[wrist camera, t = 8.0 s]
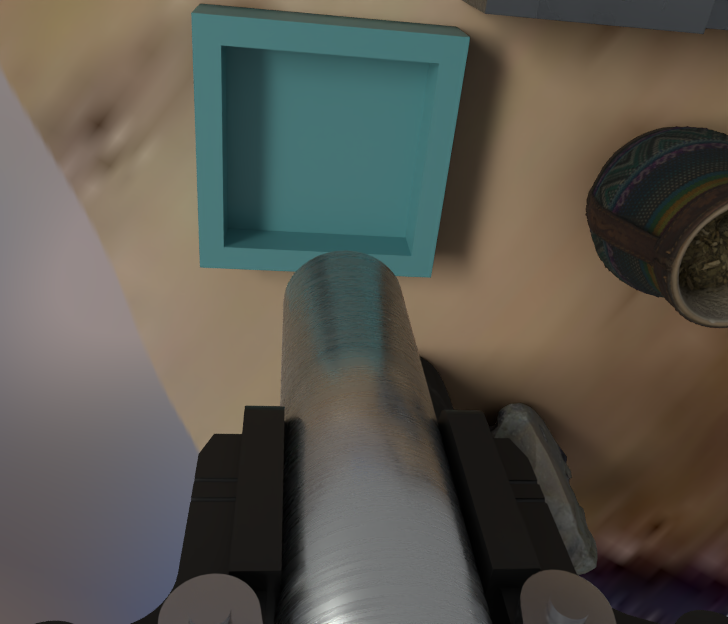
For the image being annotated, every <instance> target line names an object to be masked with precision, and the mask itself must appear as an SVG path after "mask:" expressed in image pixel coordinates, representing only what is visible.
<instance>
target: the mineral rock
mask: <svg viewBox="0 0 728 624" xmlns="http://www.w3.org/2000/svg"><path fill="white" fill-rule="evenodd" d="M489 428H490V431H491V434H492V437H493V438H510V439H511V440H512V441H513V443H514V444H515V445H516V446H517V447H518V448H519V449H520V450H521V451H522V452H523V453H524V454H525V455H526V456H527V457H528V459H529V461H530V463H531V466H532V468H533V471H534V473H535V475H536V478H537V484H539V485H540V487H541V490H542V492H543V494H544V497H545V503H547V504H548V506H549V509H550V511H551V514H552V516H553V518H554V521H555V523H556V525H557V528H558V530H559V533H560V535H561V537H562V540H563V542H564V545H565V547H566V549H567V552H568V554H569V557H570V559H571V561H572V564H573V566H574V568H575V571H576V573H577V575H580V574H585V573H587V572H588V571H590V570H592V569H594V568H595V567H596V563H597V548H596V543H595V540H594V538H593V536H592V534H591V533H590V531H589V530H588V528H587V524H586V520H585V513H584V510H583V508H582V507H581V506H579V504H578V502H577V499H576V496H575V494H574V492H573V490H572V488H571V486H570V484H569V480H570V478H572V475H571V471H570V469H569V468H568V466H567V464H566V460H567V456H566V455H565V454H564V452H563V451H562V450H561V448H560V447H559V446H558V444H557V443H556V441H555V440H554V438H553V437H552V435H551V433H550V431H549V430H548V428H547V426H546V425H545V423H544V421H543V420H542V419H541V418H540V416H539V415H538V414H537V413H536V412H535V411H534V410H533V409H532V408H531V407H529V406H527V405H525V404H522V403H516V404H509V405H507V406H505V407H504V408H502V409H501V410H500V411H499V412H498V416H497V422H496V424H495V425H494V426H490V427H489Z"/></svg>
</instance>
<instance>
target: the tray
mask: <svg viewBox="0 0 728 624" xmlns="http://www.w3.org/2000/svg"><path fill="white" fill-rule="evenodd" d="M191 15H192V44H193V74H194V103H195V133H196V162H197V192H198V221H199V251H200V267H203V268H226V269H249V270H272V271H295V272H296V271H297V270H298V269H299V268H300V267H301V266H302V265H304V264H305V263H307V262H308V261H309V260H311V259H313V258H315V257H317V256H319V255H322V254H325V253H329V252H334V251H357V252H361V253H365V254H368V255H370V256H373V257H375V258H376V259H378V260H380V261H381V262H383V263H384V264H385V265H386V266H387V267H388V268H390V270H391V271H392V272H393V273H394V275H395V276H408V277H431V273H432V267H433V261H434V255H435V249H436V243H437V236H438V230H439V224H440V218H441V212H442V206H443V200H444V194H445V188H446V182H447V175H448V169H449V163H450V157H451V151H452V145H453V139H454V133H455V127H456V120H457V114H458V108H459V102H460V96H461V90H462V84H463V78H464V72H465V65H466V59H467V53H468V47H469V41H470V37H469V36H468V35H466V34H465V33H464V32H463V31H461V30H460V29H459V28H457V27H454V26H443V25H432V24H421V23H410V22H398V21H387V20H376V19H365V18H354V17H343V16H332V15H321V14H310V13H299V12H288V11H277V10H265V9H254V8H243V7H232V6H221V5H210V4H199V5H198V6H197V7H196V8H195V10H194V11H193V12H192V13H191Z"/></svg>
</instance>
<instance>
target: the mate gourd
mask: <svg viewBox="0 0 728 624" xmlns="http://www.w3.org/2000/svg"><path fill="white" fill-rule="evenodd" d="M586 212H587V213H586V214H585V215H586V216H587V219H588V220H587V221H588V225H589V228H590V232H591V236H592V240H593V242H594V245H595V248H596V251H597V254H598V256H599V258H600V260H601V261H603V263H604V266H605V268H608V270H609V271H611V272H612V273H613V274H614V275H615V276H616V277H617V278H619V280H621V281H623V282H624V283H626V284H628V285H629V286H631V287H633V288H635V289H636V290H639V291H641V292H644V293H646V294H650V295H654V296H656V297H658V298H659V297H664V298H665V299H666V300H667V301H668V302H669V303H670V304H671V305H672V306H673V307H674V308H675V310H676V311H678V312H679V314H680V315H682V316H683V317H684V318H685V319H687V320H688V321H690V322H694V323H695V324H698V325H701V326H705V327H710V328H711V327H712V328H728V135H726V134H724V133H720V132H717V131H713V130H709V129H707V128H696V127H688V126H687V127H666V128H660V129H656V130H653V131H650V132H647V133H645V134H643V135H640V136H638V137H636V138H635V139H633V140H631V141H630V142H628V143H627V144H625V145H624V146H623V147H621V148H620V149H619V150H618V151H617V152H615V153H614V154H613V156H612V157H611V158H609V160H608V161H607V162H606V164H605V165H604V166H603V168H602V170H601V172H600V173H599V174H598V177H597V179H596V180H595V182H594V184H593V186H592V188H591V190H590V191H589V193H588V198H587V205H586Z"/></svg>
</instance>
